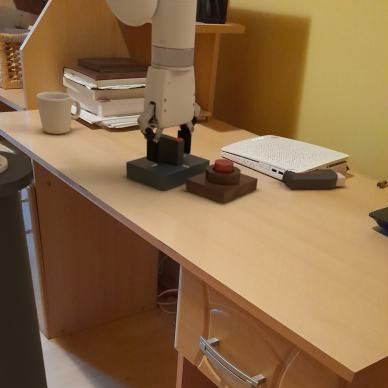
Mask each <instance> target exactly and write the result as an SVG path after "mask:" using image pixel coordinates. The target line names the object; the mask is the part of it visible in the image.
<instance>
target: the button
mask: <svg viewBox="0 0 388 388" xmlns="http://www.w3.org/2000/svg"><path fill="white" fill-rule="evenodd" d="M233 166H235V163H234V161H233V160H230V159H227V158H220V159H216V160H214V171H215V172H218V173H232V172H233Z"/></svg>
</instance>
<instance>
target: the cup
mask: <svg viewBox="0 0 388 388" xmlns="http://www.w3.org/2000/svg"><path fill="white" fill-rule="evenodd" d="M35 98H36V104H37V109H38V113H39V119H40V123H41V127H42V129H43V131H44V132H45V133H48V134H53V135H60V134H61V135H63V134H66V133H69V131H70V130H71V126H72V121H74V120H77V119H79V117H80V116H81V113H82V107H81V102H80V101H79V100H78V99H77V98H74V97H72V95H71V94H69V93H65V92H59V91H43V92H39V93H37V94H36V95H35ZM73 104H75V108H76V109H75V113H74V114H72V106H73Z"/></svg>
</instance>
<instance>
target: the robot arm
mask: <svg viewBox="0 0 388 388" xmlns="http://www.w3.org/2000/svg"><path fill="white" fill-rule="evenodd" d="M105 1H106V4H107V7H108V9H109V10H110V12H111V13H112V14H113V15H114V16H115V17H116V18H117V19H118V20H119V21H120V22H122V23H123V24H124V25H127V26H128V27H129V26H130V27H140V26H143V25H144V24H147V23H148V22H149V21H150V20H151V60H150V64H151V65H148V68H147V72H146V77H145V85H144V94H143V111H142V113H140V115H139V116H138V117H137V119H136V122H137V124H138V127H139V129H140V133H141V134H142V135H143V138H144V139H145V140H146V156H147V160H149V161H152V162H155V163H160V162H161V142H160V141H159V138H160V136H161V134H163V131H164V129H169V128H174V127H179V129H178V130H177V137H176V138H182V139H183V140H184V153H186V154H191V153H192V152H191V151H192V138H193V137H192V135H193V133H194V131H195V126H196V124H197V122H198V117H199V116H200V112H201V109H202V108H201V106H200V105H199V104H198V103H197V102H196V81H195V80H196V78H195V68H194V60H195V59H194V57H195V41H196V22H197V8H198V7H197V4H198V0H105ZM154 130H155V132H154ZM7 167H8V162H7V159H6V158H5V157H3V156H2V155H0V173H2V172H4V171H5V170H6V169H7Z"/></svg>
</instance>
